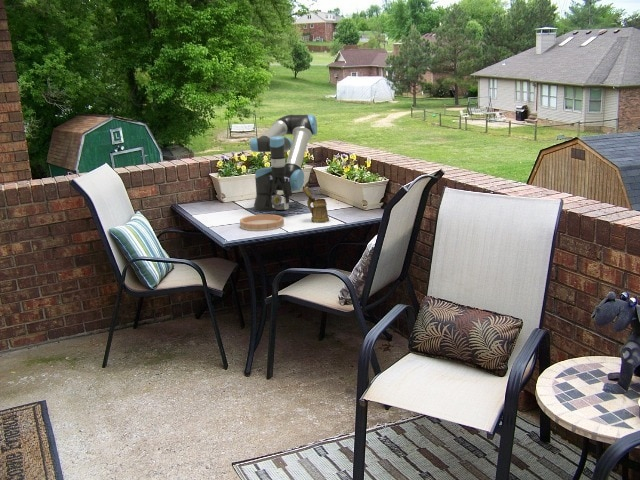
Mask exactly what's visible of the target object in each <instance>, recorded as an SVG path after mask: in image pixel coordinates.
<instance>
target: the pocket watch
mask: <svg viewBox="0 0 640 480" xmlns="http://www.w3.org/2000/svg"><path fill="white" fill-rule="evenodd" d="M274 192H275V190H274ZM275 193H276V194H275V195H274V196H273V197H272V200H271V201H272V204H273V205H274V206H276V207H275V209H278V210H280V211H283V210H284V205H282V199H283V198H282V196H281V195H280V194H279V190H277V191H276V192H275ZM275 202H277V203H275ZM280 204H281V206H279V205H280Z"/></svg>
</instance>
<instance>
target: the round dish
mask: <svg viewBox="0 0 640 480" xmlns="http://www.w3.org/2000/svg"><path fill="white" fill-rule="evenodd" d="M284 220H285V219H284V217H283V216H282V215H278V214H254V215H248V216H244V217H242V218H240V219H239V225H240V227H239V228H240V229H242V230H245V231H253V232H257V231H258V232H259V231H260V232H262V231H265V232H266V231H273V230H276V229H280V228H282V227H283V226H284V223H285V221H284Z"/></svg>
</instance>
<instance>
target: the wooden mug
mask: <svg viewBox="0 0 640 480" xmlns="http://www.w3.org/2000/svg"><path fill="white" fill-rule="evenodd" d="M302 191H303V193H304V195H305V197H307V198H308V199H307V202H306V204H307V208H308V209H309V211H310V212H311V222H312V223H316V224H319V223H327V222H329V221H330V217H329V214H328V208H327V202H326V201H327V200H326V199H325V198H316V197H313V195H312V193H311V191H310V190H309V189H308V188H307V187H306V186H304V185H303V186H302ZM311 204H312V205H311Z"/></svg>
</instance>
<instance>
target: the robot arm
mask: <svg viewBox="0 0 640 480" xmlns="http://www.w3.org/2000/svg"><path fill="white" fill-rule="evenodd" d="M317 133H318V123H317V119H316V116H315V115H314V114H286V115H284V116H282V117H280V118H279V117H278V119H276V120H275V121H273V123H272V125H271V127H269V128H268V129H267V130H266V131H265V132H264V133H262V135H261V136H259V137H253V138H251V139H250V143H249V147H250V150H251V152H254V153H255V152H256V153H270V166H265V167H261V168H258V169H256V170H255V173H254V176H255V177H254V180H255V181H254V182H255V193H256V196H255V200H254V204H253V210H254V211H259V212H272V211H277V210H278V209H275V207H276V206H274V205H273V204H272V201H271V200H272V197H273V196H274V195H275V194H276V193H275V192H276V191H277V190H278V192H279V191H282V192H283V195H284V197H283V204H284V205H283V206H284V209H283V210H289V209H290V205H289V203H290V197H292V196H293V192H295V191H297V192H298V191H300V190H301V189H303V186H304V183H305V180H304V179H305V173H304V171H303V169H302V166H303V165H302V164H303V161H304V157H305V153H306V151H307V146H308V143H309V141H310V140H312V138H313V136H315V135H317ZM286 135H288V136H289V135H292V136H293V138H292V139H291V138H289V137H287V136H286ZM287 152H288V156H287V159H286V156H285V155H286V153H287ZM274 190H275V192H274ZM275 203H277V202H275ZM279 206H282V203H281V204H280V205H279Z"/></svg>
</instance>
